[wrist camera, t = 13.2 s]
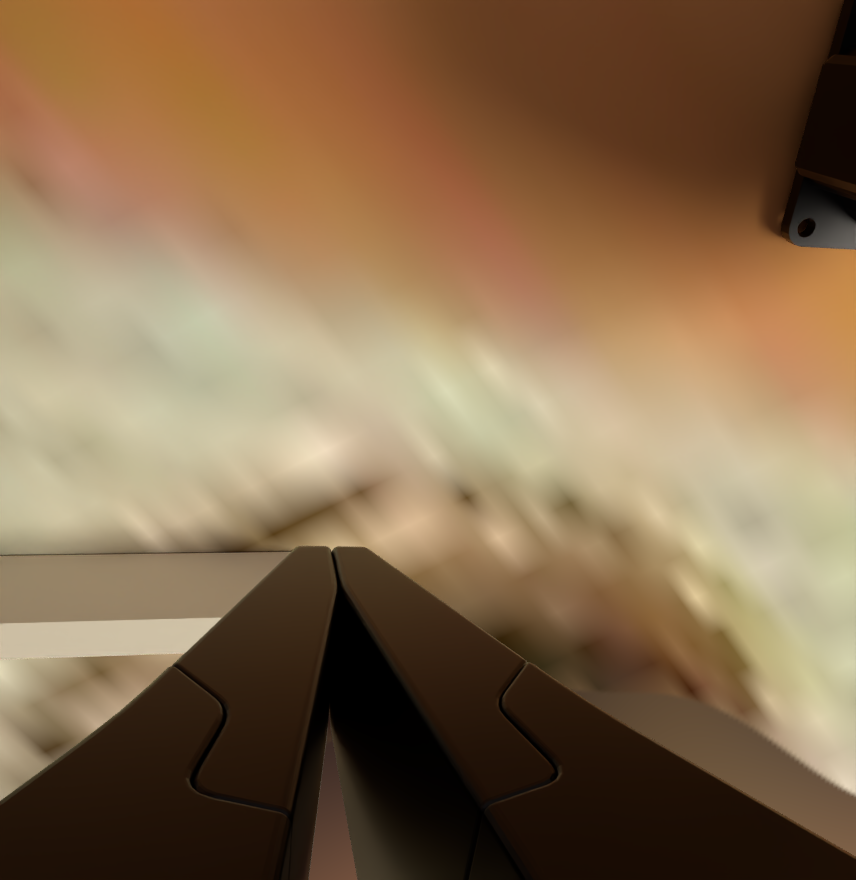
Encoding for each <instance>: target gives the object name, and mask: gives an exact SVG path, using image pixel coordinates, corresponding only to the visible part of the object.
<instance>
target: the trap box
mask: <svg viewBox="0 0 856 880" xmlns="http://www.w3.org/2000/svg"><path fill="white" fill-rule="evenodd" d="M289 553H290V552H238V553H167V554H97V555H26V556H0V660H4V659H33V658H63V657H92V656H121V655H150V654H179V653H186V652H187V651H188V650H189V649H190V648H191V647H192V646H193V645H194V644H195V643H196V642H197V641H198V640H199V639H200V638H201V637H202V636H203V635H204V634H206V633H207V632H208V631H209V630H210V629H211V628H212V627H213V626H214V625H215V624H216V623H217V622H218V621H219V620H220V619H221V618H222V617H223V616H224V615H225V614H227V613H228V612H229V611H230V610H231V609H232V608H233V607H234V606H235V605H236V604H237V603H238V602H239V601H240V600H241V599H242V598H243V597H244V596H245V595H246V594H247V593H249V592H250V591H251V590H252V589H253V588H254V587H255V586H256V585H257V584H258V583H259V582H260V581H261V580H262V579H263V578H264V577H265V576H266V575H267V574H268V573H269V572H271V571H272V570H273V569H274V568H275V567H276V566H277V565H278V564H279V563H280V562H281V561H282V560H283V559H284V558H285V557H286V556H287V555H288V554H289Z"/></svg>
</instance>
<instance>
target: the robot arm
mask: <svg viewBox="0 0 856 880" xmlns="http://www.w3.org/2000/svg"><path fill="white" fill-rule="evenodd" d="M795 166H796V168H797V170H796V174H795V178H794V181H793V185H792V188H791V192H790V195H789V199H788V203H787V206H786V210H785V213H784V217H783V220H782V225H781V233H782V236H783V238H785V239H786V240H787V241H788V242H790V243H792V244H794V245H798V246H801V247H819V248H837V249H855V250H856V0H844V2H843V6H842V9H841V13H840V17H839V20H838V24H837V27H836V31H835V34H834V38H833V42H832V45H831V49H830V52H829V56H828V59H827V61H826V62H825V63H824V64H823V66H822V69H821V72H820V76H819V79H818V83H817V87H816V90H815V94H814V97H813V101H812V105H811V108H810V112H809V115H808V119H807V123H806V126H805V130H804V133H803V137H802V141H801V144H800V148H799V151H798V155H797V159H796V162H795ZM804 219H807V226H806V228H805V230H804V231H802V232H801V233H798V226H799V224H800V222H802V221H803V220H804ZM329 714H330V725H331V732H332V739H333V745H334V749H335V756H336V761H337V767H338V772H339V778H340V783H341V789H342V795H343V801H344V806H345V811H346V817H347V823H348V828H349V834H350V840H351V845H352V851H353V856H354V862H355V868H356V873H357V879H358V880H856V857H855V856H854V855H852V854H850V853H848V852H847V851H845V850H843V849H842V848H840V847H838V846H836V845H835V844H833V843H831V842H829V841H828V840H826V839H824V838H822V837H821V836H819V835H817V834H815V833H814V832H812V831H810V830H809V829H806V828H805V827H803V826H801V825H800V824H798V823H796V822H794V821H793V820H791V819H789V818H788V817H786V816H784V815H783V814H781V813H779V812H777V811H775V810H774V809H772V808H770V807H769V806H767V805H765V804H764V803H762V802H760V801H758V800H757V799H755V798H753V797H751V796H750V795H748V794H746V793H744V792H743V791H741V790H739V789H737V788H736V787H734V786H732V785H731V784H729V783H727V782H725V781H724V780H722V779H720V778H718V777H717V776H715V775H713V774H711V773H710V772H708V771H706V770H705V769H703V768H701V767H699V766H698V765H696V764H694V763H692V762H691V761H689V760H687V759H685V758H684V757H682V756H680V755H679V754H677V753H675V752H673V751H671V750H670V749H668V748H666V747H665V746H663V745H661V744H659V743H658V742H656V741H654V740H653V739H651V738H649V737H647V736H646V735H644V734H642V733H640V732H639V731H637V730H635V729H633V728H632V727H630V726H628V725H627V724H625V723H623V722H622V721H620V720H618V719H617V718H615V717H613V716H612V715H610V714H608V713H607V712H605V711H603V710H602V709H600V708H598V707H597V706H595V705H593V704H592V703H590V702H589V701H587V700H586V699H584V698H583V697H581V696H580V695H578V694H576V693H575V692H574V691H572V690H571V689H569V688H568V687H566V686H564V685H563V684H561V683H560V682H558V681H557V680H555V679H554V678H553V677H551V676H550V675H548V674H547V673H545V672H544V671H543V670H541V669H540V668H538V667H537V666H536V665H534V664H533V663H527V661H526V660H525V659H524V658H522V657H521V656H519V655H518V654H516V653H515V652H514V651H512V650H511V649H509V648H508V647H507V646H505V645H504V644H502V643H501V642H499V641H498V640H497V639H495V638H494V637H492V636H491V635H490V634H488V633H487V632H485V631H484V630H482V629H481V628H480V627H478V626H477V625H475V624H474V623H473V622H471V621H470V620H468V619H467V618H465V617H464V616H463V615H461V614H460V613H458V612H457V611H456V610H454V609H453V608H451V607H450V606H448V605H447V604H446V603H444V602H443V601H441V600H440V599H439V598H437V597H436V596H434V595H433V594H431V593H430V592H429V591H427V590H426V589H424V588H423V587H422V586H420V585H419V584H417V583H416V582H414V581H413V580H412V579H410V578H409V577H407V576H406V575H405V574H403V573H402V572H400V571H399V570H397V569H396V568H395V567H393V566H392V565H390V564H389V563H388V562H386V561H385V560H383V559H382V558H380V557H379V556H378V555H376V554H375V553H373V552H372V551H371V550H369V549H367V548H365V547H341V546H339V547H335V548H334V549H333V550H332V552H331V550H330V548H329V547H326V546H298V547H296V548H295V549H294V550H293V551H292V552H290V553H289V554H288V555H287V556H286V557H285V558H284V559H283V560H282V561H281V562H280V563H279V564H278V565H277V566H276V567H275V568H274V569H273V570H272V571H271V572H269V573H268V574H267V575H266V576H265V577H264V578H263V579H262V580H261V581H260V582H259V583H258V584H257V585H256V586H255V587H254V588H253V589H252V590H251V591H250V592H249V593H247V594H246V595H245V596H244V597H243V598H242V599H241V600H240V601H239V602H238V603H237V604H236V605H235V606H234V607H233V608H232V609H231V610H230V611H229V612H228V613H227V614H225V615H224V616H223V617H222V618H221V619H220V620H219V621H218V622H217V623H216V624H215V625H214V626H213V627H212V628H211V629H210V630H209V631H208V632H207V633H206V634H204V635H203V636H202V637H201V638H200V639H199V640H198V641H197V642H196V643H195V644H194V645H193V646H192V647H191V648H190V649H189V650H188V651H187V652H186V653H185V654H184V655H182V656H181V657H180V658H179V659H178V660H177V661H176V662H175V663H174V664H173V665H172V667H168V668H167V669H166V670H165V671H164V672H163V673H162V674H161V675H160V676H159V677H158V678H157V679H156V680H155V681H153V682H152V683H151V684H150V685H149V686H148V687H147V688H146V689H145V690H143V691H142V692H141V693H140V694H139V695H138V696H137V697H136V698H134V699H133V700H132V701H131V702H130V703H129V704H128V705H126V706H125V707H124V708H123V709H122V710H121V711H120V712H118V713H117V714H116V715H115V716H113V717H112V718H111V719H109V720H108V721H107V722H105V723H104V724H103V725H102V726H100V727H99V728H98V729H96V730H95V731H94V732H93V733H91V734H90V735H89V736H87V737H86V738H85V739H84V740H82V741H81V742H80V743H78V744H77V745H76V746H74V747H73V748H72V749H70V750H69V751H68V752H66V753H65V754H63V755H62V756H61V757H59V758H58V759H57V760H55V761H54V762H53V763H51V764H50V765H48V766H47V767H46V768H44V769H43V770H42V771H40V772H39V773H38V774H36V775H35V776H33V777H32V778H31V779H29V780H28V781H27V782H25V783H24V784H23V785H21V786H20V787H18V788H17V789H16V790H14V791H13V792H12V793H10V794H9V795H8V796H6V797H5V798H4V799H2V800H1V801H0V880H309V872H310V864H311V856H312V848H313V840H314V833H315V824H316V817H317V809H318V800H319V793H320V786H321V778H322V770H323V761H324V754H325V746H326V739H327V728H328V716H329Z"/></svg>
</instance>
